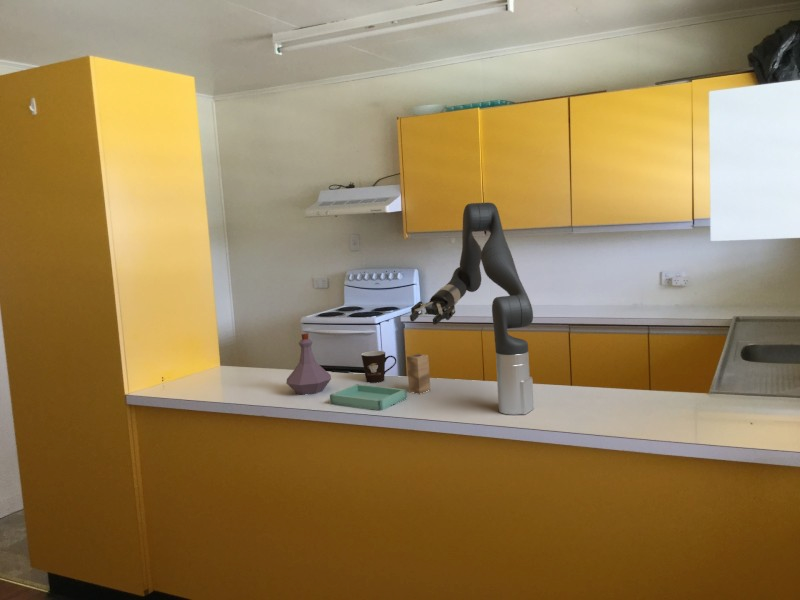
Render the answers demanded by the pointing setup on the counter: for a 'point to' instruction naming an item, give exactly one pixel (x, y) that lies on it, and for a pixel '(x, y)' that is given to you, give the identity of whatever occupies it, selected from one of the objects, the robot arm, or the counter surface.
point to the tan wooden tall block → (418, 373)
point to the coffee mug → (375, 365)
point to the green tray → (368, 397)
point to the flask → (308, 371)
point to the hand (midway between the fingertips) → (422, 320)
